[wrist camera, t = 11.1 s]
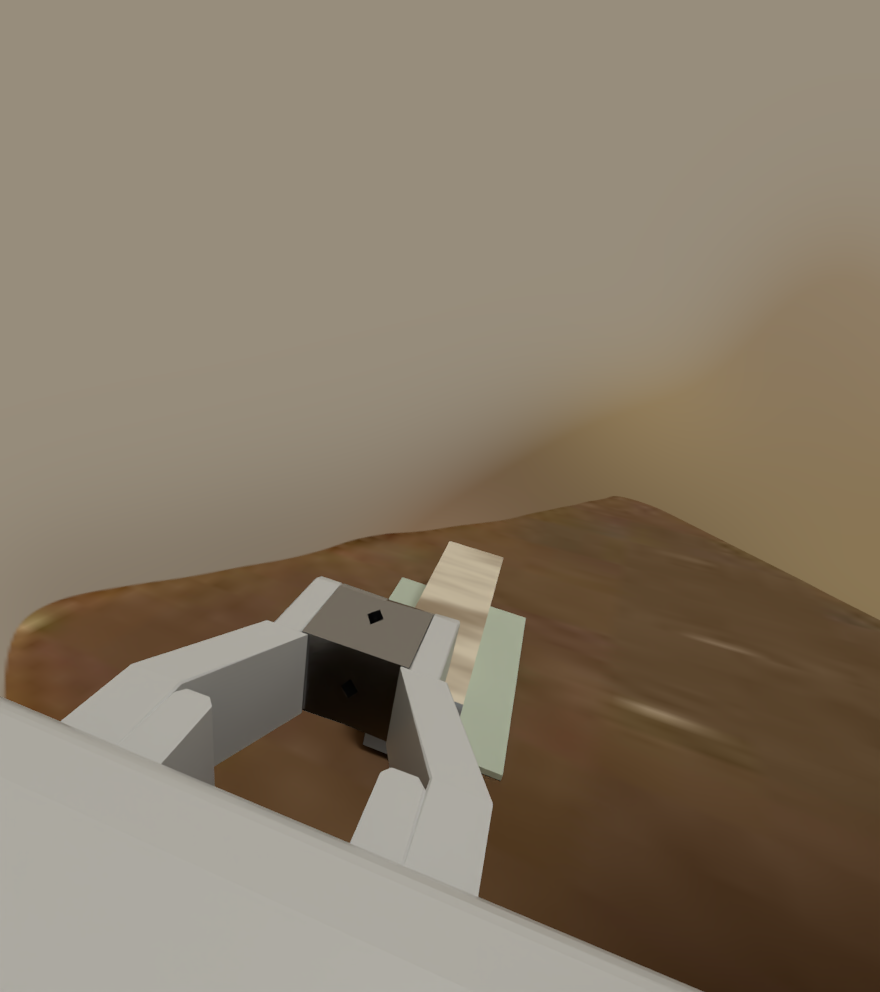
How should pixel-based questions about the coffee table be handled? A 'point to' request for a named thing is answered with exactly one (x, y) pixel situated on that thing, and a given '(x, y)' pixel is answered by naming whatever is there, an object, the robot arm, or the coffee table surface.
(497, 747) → the sage mat
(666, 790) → the coffee table surface
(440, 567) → the maple block
